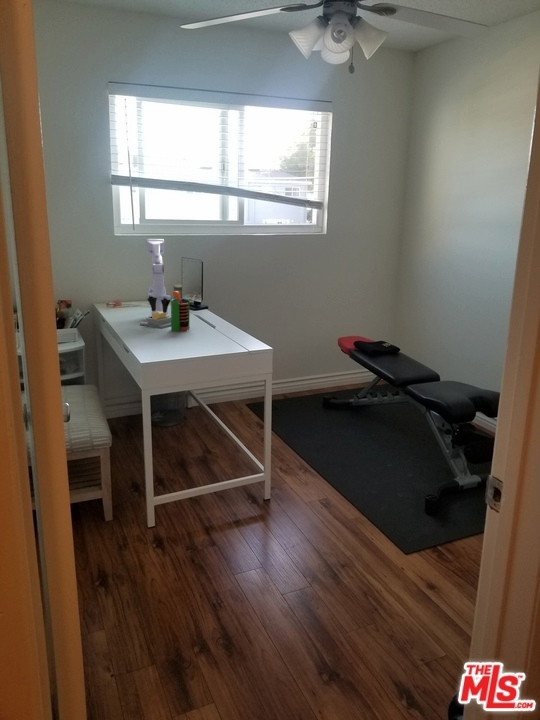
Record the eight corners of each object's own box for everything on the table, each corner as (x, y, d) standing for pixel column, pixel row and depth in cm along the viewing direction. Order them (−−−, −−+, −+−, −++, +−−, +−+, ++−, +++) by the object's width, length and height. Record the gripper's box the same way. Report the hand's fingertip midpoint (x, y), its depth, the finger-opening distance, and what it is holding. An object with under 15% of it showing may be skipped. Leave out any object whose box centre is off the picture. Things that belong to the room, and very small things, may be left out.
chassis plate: (157, 320, 303) (157, 314, 302) (178, 323, 296) (178, 317, 295) (140, 325, 291) (140, 318, 290) (162, 328, 284) (161, 321, 283)
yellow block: (162, 320, 298) (161, 309, 296) (167, 321, 296) (167, 310, 294) (151, 323, 290) (150, 312, 288) (156, 324, 288) (156, 312, 287)
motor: (184, 332, 276) (184, 293, 271) (168, 331, 278) (167, 292, 273) (191, 328, 286) (190, 290, 281) (175, 327, 288) (174, 289, 282)
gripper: (142, 286, 288) (143, 311, 291) (164, 288, 281) (165, 314, 285) (151, 284, 294) (152, 309, 297) (172, 287, 287) (173, 312, 291)
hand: (159, 311), depth 291 cm, fingers open, 7 cm apart
